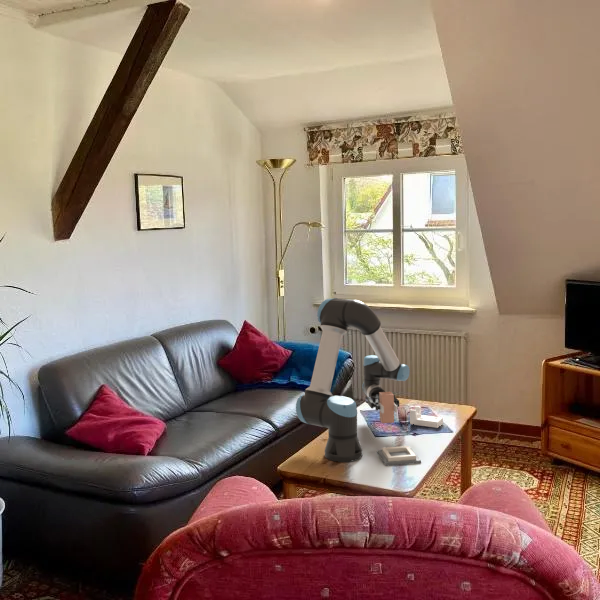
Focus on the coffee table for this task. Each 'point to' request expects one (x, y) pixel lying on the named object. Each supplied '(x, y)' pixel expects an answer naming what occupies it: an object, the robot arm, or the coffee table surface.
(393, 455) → the seat frame
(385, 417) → the block
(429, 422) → the bracket
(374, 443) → the coffee table surface
